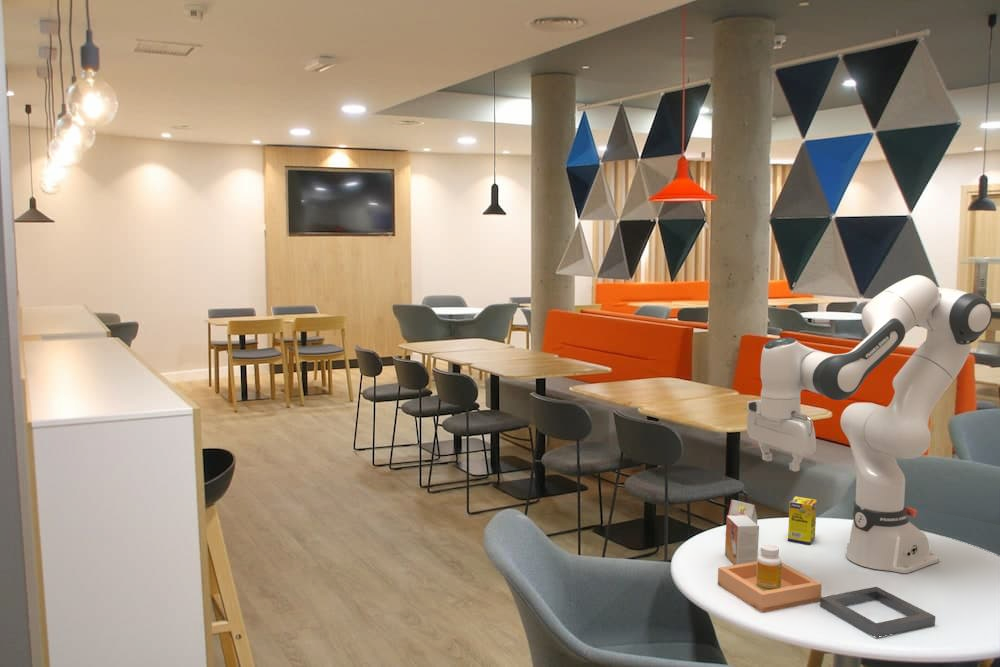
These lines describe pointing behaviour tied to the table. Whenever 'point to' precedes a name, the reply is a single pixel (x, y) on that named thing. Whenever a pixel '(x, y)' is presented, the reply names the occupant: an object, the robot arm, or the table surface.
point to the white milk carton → (742, 510)
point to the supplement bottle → (768, 568)
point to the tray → (790, 594)
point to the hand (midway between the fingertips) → (780, 465)
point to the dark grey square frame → (915, 615)
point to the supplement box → (802, 520)
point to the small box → (741, 539)
